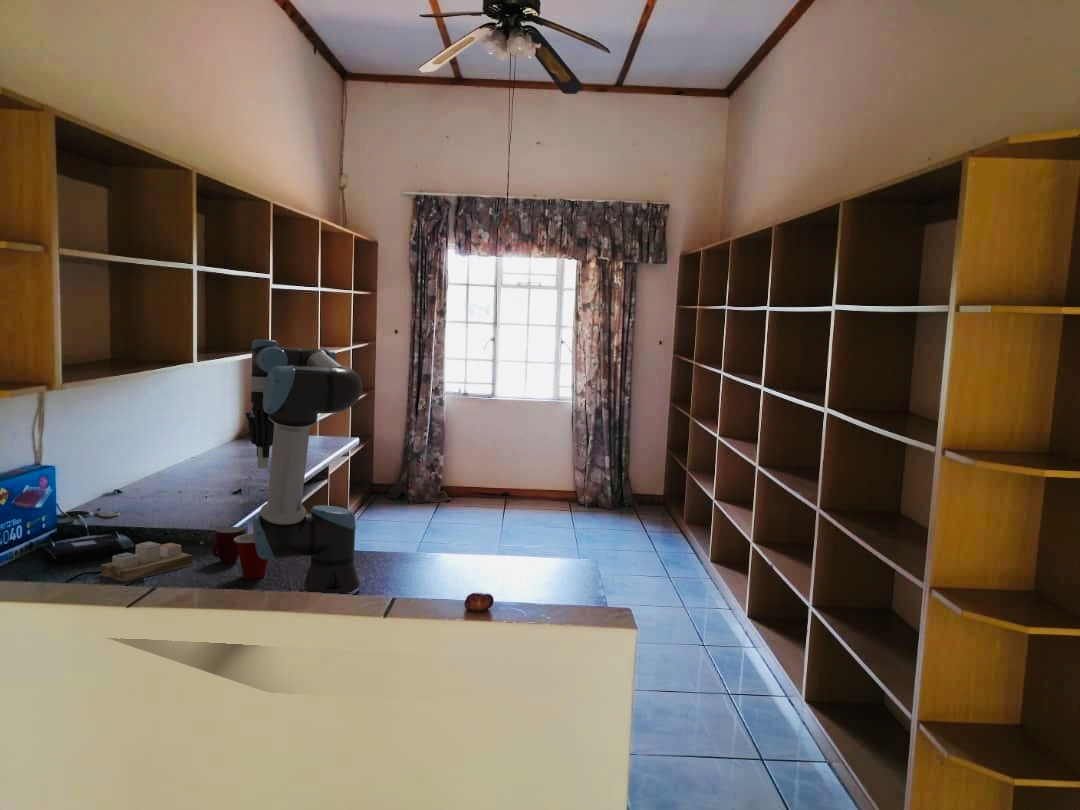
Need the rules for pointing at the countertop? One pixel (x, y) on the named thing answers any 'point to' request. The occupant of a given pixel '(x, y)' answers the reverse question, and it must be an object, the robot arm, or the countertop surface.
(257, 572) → the plastic cup
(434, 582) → the countertop surface
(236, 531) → the mug
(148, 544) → the beige wooden cube
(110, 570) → the keypad board
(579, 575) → the countertop surface
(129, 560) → the off-white cube
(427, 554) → the countertop surface
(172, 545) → the beige cube
